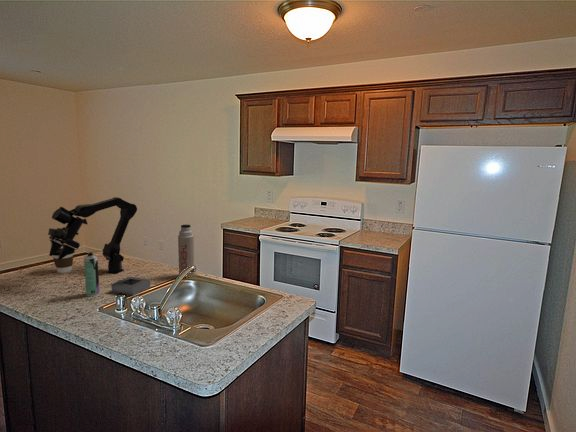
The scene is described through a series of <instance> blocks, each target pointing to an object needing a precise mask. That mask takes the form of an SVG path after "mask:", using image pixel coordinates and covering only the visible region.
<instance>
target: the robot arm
mask: <svg viewBox="0 0 576 432" xmlns="http://www.w3.org/2000/svg"><path fill="white" fill-rule="evenodd" d="M113 207H117V208H119V209H120V211H119V214H120V215H119V216H120V218H119V220H118V222H117V224H116V228H115V230H114V231H113V235H112V237H111V240H110V242H108V243H105V244H104V247H103V248H102V256H103V257H104V258H105V259H106V261H107V263H108V265H107V269H108V270H106V273H109V274H119V273H120V272H125V269H123V267H122V266H123V265H122V264H123V263H122V262H124V258H125V257H124V256H123V255H122V254H120V253H121V242H122V240H123V239H124V238H123V237H124V235H125V232H126V230H127V228H128V225H129V222H130V221H131V219H132V218H133V217H134V216H135V214H136V213H137V211H138V207H137V205H136V204H135V203H130V202H128V201H126V200H124V199H123V198H121V197H117V196H114V197H111V198H108V199H105V200H101V201H98V202H95V203H90V204H88V203H87V204H86V203H85V204H78V205H76V206H75V207H74V208H72V209H70V210H68V209H66V208H65V207H64V206H59V208H57V209H56V210H55V211H54V212H53V213H52V214H51V215H52V216H51V219H52V220H54V221H56V222H58V223H61V224H62V225H65V227H61V228H59V227H57V228H51V227H50V228H48V234H47V235H48V236H49V237H48V239H49V241H50V243H51V245H50V250H49V254H48V255H49V257H53V254H55V253H56V252H57V251H58V250H59V249H60V248H63V249H62V251H61V253H60V255H59V258H58V259H60V260H61V259H62V258H63V257H65V256H66V255H68V254H69V253H71V252H72V251H76V250H79V248H80V246H81V245H80V243H79V242H78V241H75V240H74V239H75V237H76V236H78V235H79V231H80V229H81V227H82V226H83V225H88V221H87V218H89V217H91V216H93V215H94V214H95V213H97V212H100V211H103V210H106V209H109V208H113Z"/></svg>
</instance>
